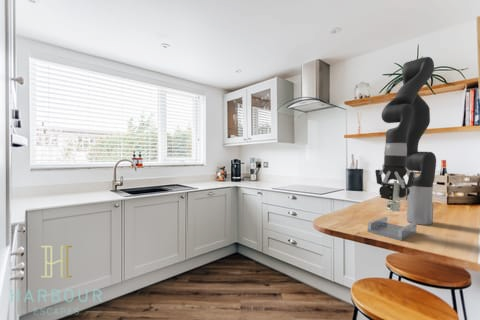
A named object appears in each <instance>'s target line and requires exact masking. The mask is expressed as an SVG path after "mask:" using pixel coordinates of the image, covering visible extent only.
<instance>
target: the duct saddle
mask: <svg viewBox="0 0 480 320" xmlns="http://www.w3.org/2000/svg"><path fill="white" fill-rule="evenodd" d="M417 225H418V224H417V223H409V224H408V225H406V226H404V225H403V226H402V225H397V224H393V223H389V222H388V217H387V216H383V217H380V218H377V219H375V220H374V219H373V220H371V221H368V222H367V232H368V233H372V234H375V235H380V236H383V237H386V238H389V239H390V238H391V239H394V240H398V241H403V240H405V239H407V238H410V237H411V236H412V235H414V234H417V228H418V227H417Z"/></svg>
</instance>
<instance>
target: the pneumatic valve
mask: <svg viewBox="0 0 480 320" xmlns="http://www.w3.org/2000/svg"><path fill="white" fill-rule="evenodd" d="M406 185H407V183H406ZM401 188H402V187H401V185H400V183H399V182H398V180H394V181H393V182H388V183H382V185H380V187H379V191H378V193H379V195H380V199H385V200H388V201H386V205H385V207H386V208H385V210H389V211H392V212H400V211H401V209H400V208H401V202H400V201H405V200H406V201H408V195H409V193H410V190H409V188H407V191H406V196H405V197H404V198H401V197H400V195H401Z"/></svg>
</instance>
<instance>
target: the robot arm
mask: <svg viewBox="0 0 480 320" xmlns="http://www.w3.org/2000/svg"><path fill="white" fill-rule="evenodd" d="M434 62H435V61H434V60H433V58H432V57H430V56H424V57H420V58H417V59H413V60H410V61H407V62H404V63H403V65H402V69H401V76H402V84H403V85H402V86H401V87H399V89H398V90H397V93H396V94H395V96H394V98H393V99H391V100H390V101H389V103H387V104H386V105H385V106H384V107H383V109H382V112H381V120H382V121H383V122H384V123H387V124H395V123H396V124H397V123H398V125H397V126H396V127H392V128H389V129H387V130H386V133H385V146H384V152H383V153H384V155H383V156H384V157H383V159H384V160H383V168H382V169H375V171H374V172H375V178H376V183H377V185H380V186H382V183H390V181H391V180H392V181H393V180H394V181H397V183H400V185H401V187H402V188H401V195H400V197H401V198H404V197H405V196H406V191H407V188H409V190H410V193H409V195H408V197H407V200H406V201H407V202H406V207H407V208H406V221H407V222H408V223H410V224H412V223H417V225H423V226H428V225H429V226H430V225H432V224H433V223H434V220H433V219H434V203H433V194H434V193H433V191H434V183H435V178H436V168H437V157H436V155H435V153H433V152H432V151H419V142H420V139H421V138H422V136H423V135H424V133H426V130H427V129H428V127H429V125H430V122H431V113H430V111H431V109H430V107H429V105H428V103H427V102H426V101H425V100H424V99H423V98H422V97H421V96H420V95H419V92H420V91H421V89H422V88H423V87H424V86H425V84H427V82H428V81H429V80H430V79H431V77H432V75H433V74H434V71H435V63H434ZM416 172H420V174H419V175H418V176H416ZM383 174H384V178H383V176H382V175H383ZM406 175H407V177H408V179H407V183H406V179H405V176H406ZM406 184H407V185H406Z"/></svg>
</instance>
